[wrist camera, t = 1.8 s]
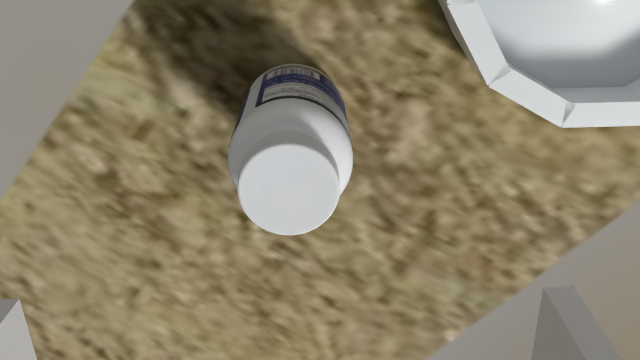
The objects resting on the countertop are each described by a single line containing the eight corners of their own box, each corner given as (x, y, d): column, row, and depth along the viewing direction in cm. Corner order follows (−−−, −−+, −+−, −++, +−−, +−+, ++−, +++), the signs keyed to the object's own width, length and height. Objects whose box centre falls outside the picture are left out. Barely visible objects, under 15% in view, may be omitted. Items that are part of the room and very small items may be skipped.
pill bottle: (296, 176, 33) (290, 275, 24) (223, 112, 32) (187, 193, 23) (366, 110, 32) (386, 190, 23) (292, 39, 30) (284, 96, 21)
